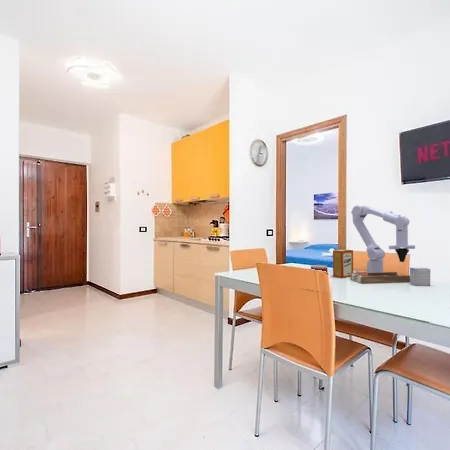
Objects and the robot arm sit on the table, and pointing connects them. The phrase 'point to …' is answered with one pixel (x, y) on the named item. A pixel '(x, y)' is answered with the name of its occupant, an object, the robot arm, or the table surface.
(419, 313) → the table surface
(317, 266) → the canned food
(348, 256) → the baking soda box
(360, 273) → the block
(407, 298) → the table surface
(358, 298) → the table surface
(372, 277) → the wooden frame
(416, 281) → the medicine box
